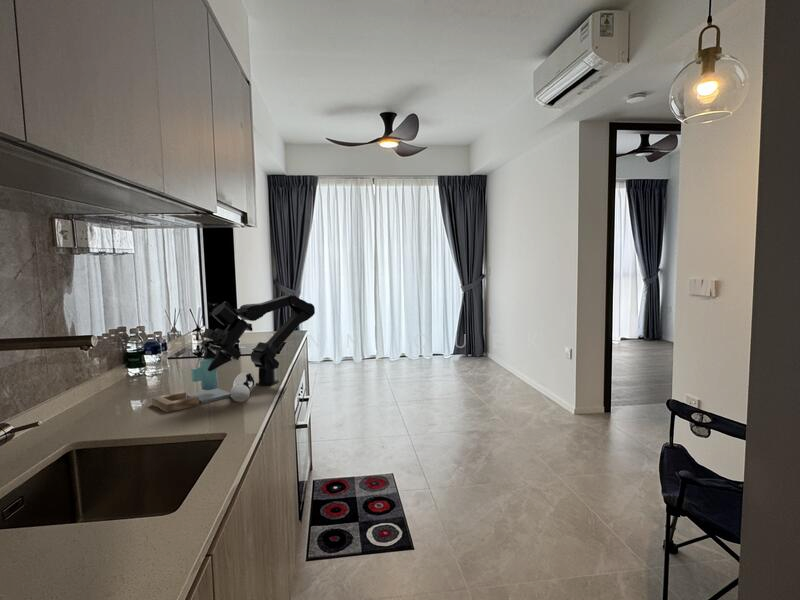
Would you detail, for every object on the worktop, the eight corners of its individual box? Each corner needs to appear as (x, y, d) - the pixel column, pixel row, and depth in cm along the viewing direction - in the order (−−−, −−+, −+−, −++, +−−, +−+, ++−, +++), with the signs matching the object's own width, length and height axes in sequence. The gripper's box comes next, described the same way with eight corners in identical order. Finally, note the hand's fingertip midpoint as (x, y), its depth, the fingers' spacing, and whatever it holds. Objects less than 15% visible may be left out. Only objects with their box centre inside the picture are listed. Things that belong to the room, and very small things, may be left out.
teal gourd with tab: (213, 385, 165) (211, 357, 164) (220, 387, 161) (219, 359, 160) (190, 390, 159) (188, 361, 158) (197, 393, 155) (195, 363, 154)
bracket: (182, 398, 160) (182, 391, 160) (198, 404, 152) (198, 397, 152) (152, 405, 153) (151, 397, 152) (167, 412, 145) (167, 404, 145)
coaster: (216, 390, 169) (216, 388, 169) (232, 396, 162) (232, 393, 162) (186, 397, 161) (186, 394, 161) (201, 403, 153) (201, 400, 153)
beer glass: (247, 380, 155) (251, 368, 169) (226, 387, 153) (232, 375, 168) (253, 399, 156) (257, 386, 170) (233, 406, 155) (238, 392, 169)
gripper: (204, 317, 168) (175, 352, 161) (230, 321, 156) (200, 359, 149) (225, 336, 175) (198, 370, 167) (252, 341, 162) (224, 378, 155)
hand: (204, 369), depth 159 cm, fingers closed on teal gourd with tab, 5 cm apart
